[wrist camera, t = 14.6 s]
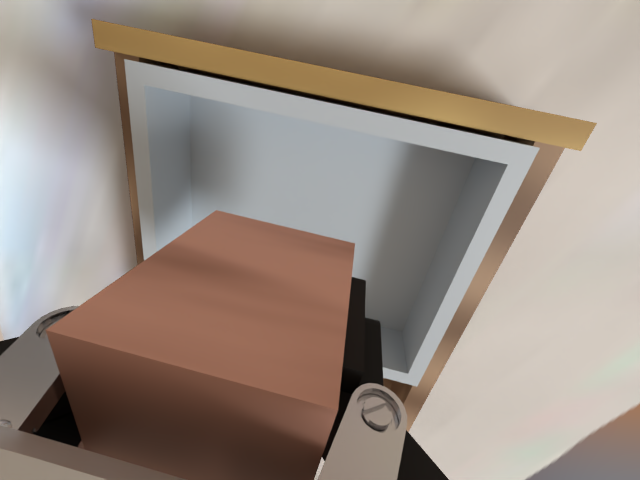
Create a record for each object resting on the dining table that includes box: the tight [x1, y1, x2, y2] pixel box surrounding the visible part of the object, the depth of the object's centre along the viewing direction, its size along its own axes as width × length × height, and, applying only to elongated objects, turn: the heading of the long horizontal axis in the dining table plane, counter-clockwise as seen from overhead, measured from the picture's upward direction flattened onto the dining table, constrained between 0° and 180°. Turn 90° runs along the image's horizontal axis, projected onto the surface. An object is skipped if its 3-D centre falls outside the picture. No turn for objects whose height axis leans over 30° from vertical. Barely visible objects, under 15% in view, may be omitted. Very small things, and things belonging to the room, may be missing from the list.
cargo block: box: [46, 210, 355, 480], centre depth 8 cm, size 5×5×6 cm
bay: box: [91, 19, 597, 432], centre depth 18 cm, size 23×20×5 cm
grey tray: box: [124, 59, 540, 387], centre depth 16 cm, size 14×17×4 cm
